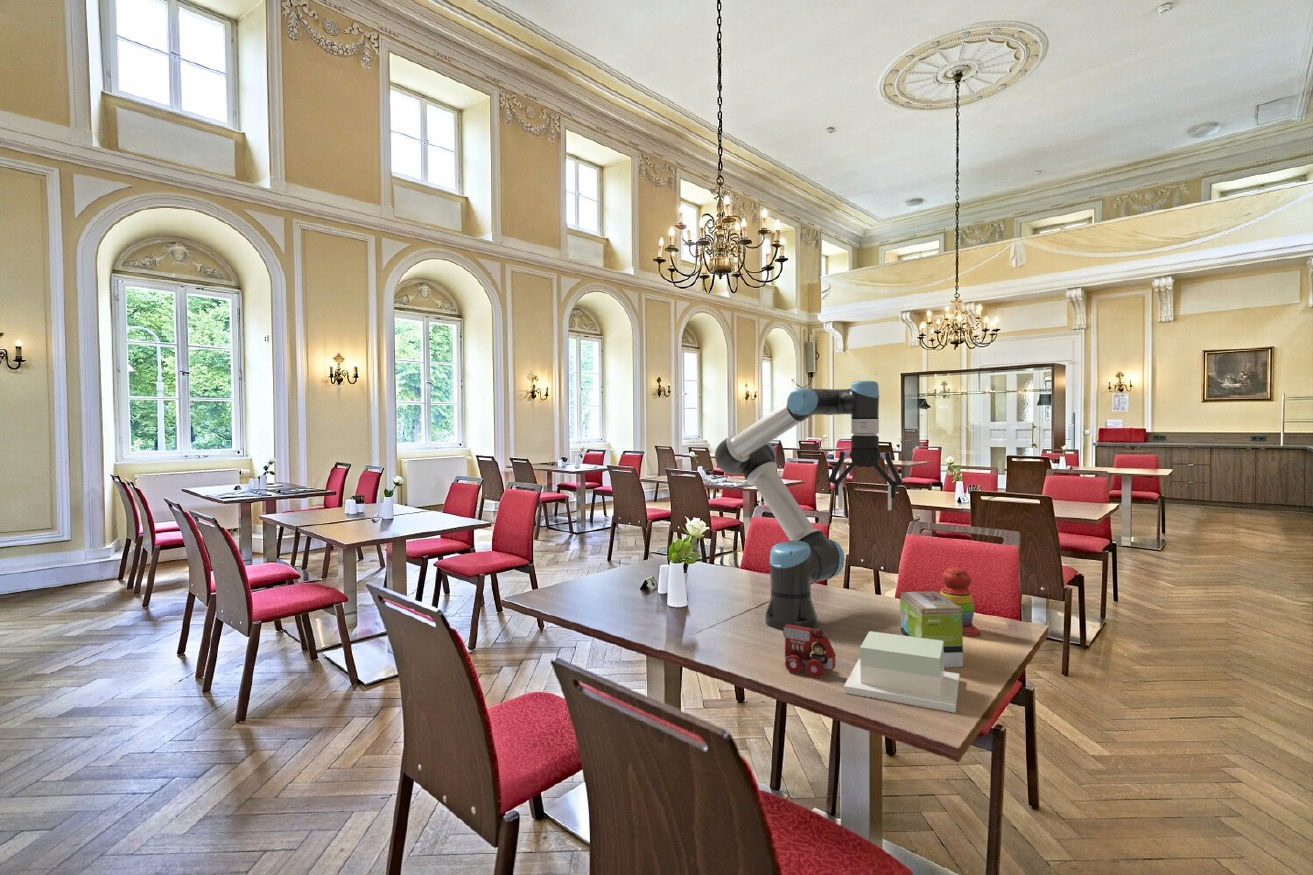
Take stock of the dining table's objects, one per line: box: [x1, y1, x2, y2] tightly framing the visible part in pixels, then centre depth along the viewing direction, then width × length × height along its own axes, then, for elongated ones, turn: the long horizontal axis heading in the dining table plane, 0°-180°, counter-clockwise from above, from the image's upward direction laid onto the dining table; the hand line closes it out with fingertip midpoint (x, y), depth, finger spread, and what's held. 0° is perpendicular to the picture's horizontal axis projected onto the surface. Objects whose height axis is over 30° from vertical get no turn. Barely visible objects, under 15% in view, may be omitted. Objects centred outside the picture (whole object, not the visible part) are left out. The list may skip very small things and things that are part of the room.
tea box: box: [899, 590, 964, 668], centre depth 156 cm, size 15×10×15 cm, turn 178°
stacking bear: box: [939, 565, 981, 637], centre depth 176 cm, size 11×10×18 cm
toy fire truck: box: [782, 624, 836, 679], centre depth 149 cm, size 7×12×10 cm, turn 57°
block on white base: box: [843, 630, 960, 714], centre depth 139 cm, size 22×18×10 cm
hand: (864, 508), depth 180 cm, fingers open, 13 cm apart
